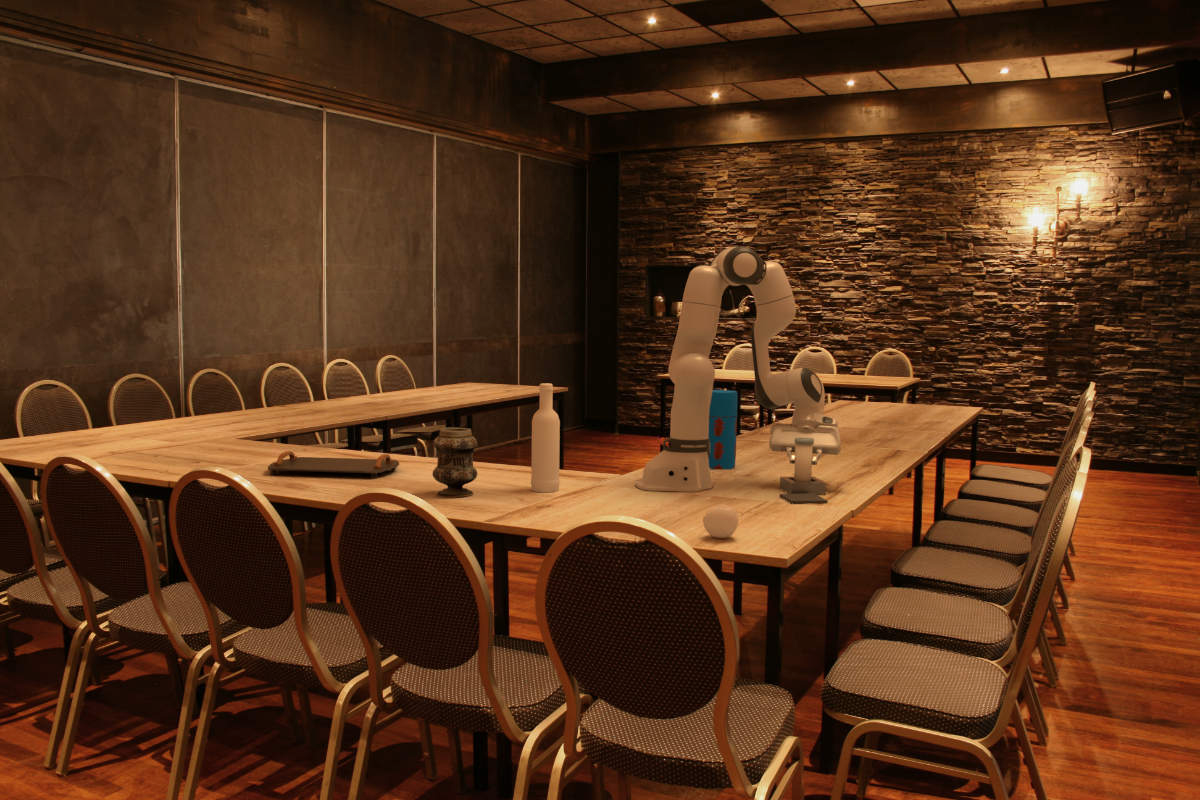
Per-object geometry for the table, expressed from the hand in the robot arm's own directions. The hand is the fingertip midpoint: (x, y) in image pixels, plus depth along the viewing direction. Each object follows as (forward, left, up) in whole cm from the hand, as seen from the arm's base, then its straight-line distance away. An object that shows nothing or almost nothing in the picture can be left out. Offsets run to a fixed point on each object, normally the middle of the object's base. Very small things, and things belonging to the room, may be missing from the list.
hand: (803, 463), depth 276 cm
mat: (-4, -11, -8) cm, 15 cm away
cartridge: (0, +1, -8) cm, 8 cm away
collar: (0, +1, -8) cm, 8 cm away
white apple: (-38, -53, -9) cm, 66 cm away
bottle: (-73, +7, -9) cm, 74 cm away
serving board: (-135, +40, -9) cm, 141 cm away
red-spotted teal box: (-13, +45, -9) cm, 47 cm away
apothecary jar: (-98, +2, -9) cm, 98 cm away
